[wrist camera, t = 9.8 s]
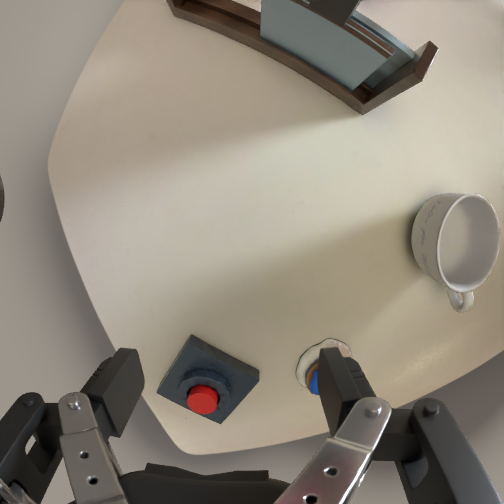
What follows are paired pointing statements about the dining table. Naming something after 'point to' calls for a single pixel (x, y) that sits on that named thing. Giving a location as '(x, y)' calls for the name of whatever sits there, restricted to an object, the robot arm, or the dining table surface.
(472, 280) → the teacup
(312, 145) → the dining table surface
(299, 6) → the window pane
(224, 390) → the button box
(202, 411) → the button
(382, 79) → the window frame
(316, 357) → the dessert
